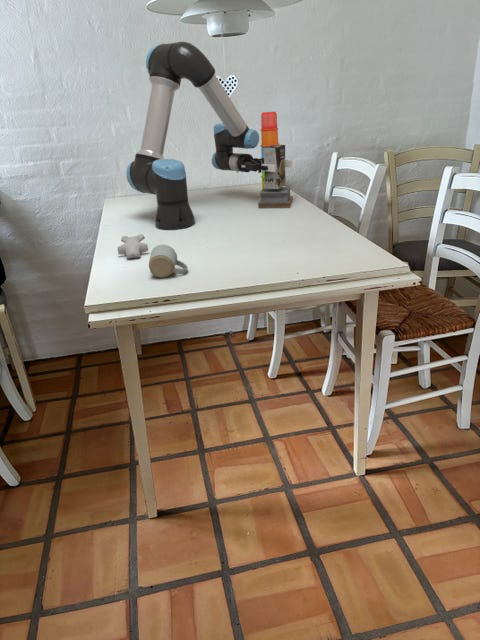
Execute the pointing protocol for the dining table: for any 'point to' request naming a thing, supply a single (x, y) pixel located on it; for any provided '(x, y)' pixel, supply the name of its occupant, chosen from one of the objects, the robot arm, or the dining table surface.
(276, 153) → the coffee box
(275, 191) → the tower stand
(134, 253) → the grey teddy bear
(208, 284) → the dining table surface
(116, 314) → the dining table surface
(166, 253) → the ceramic mug
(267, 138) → the stacking cups
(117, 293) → the dining table surface
